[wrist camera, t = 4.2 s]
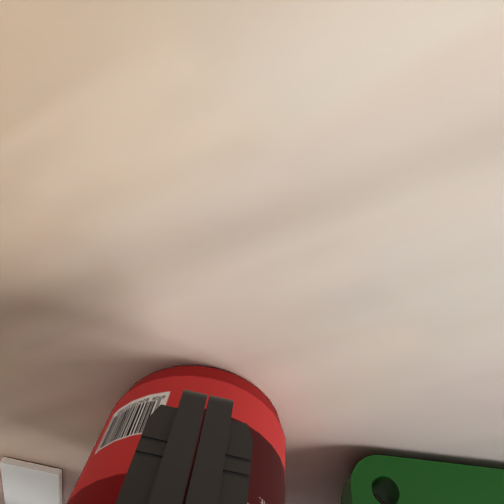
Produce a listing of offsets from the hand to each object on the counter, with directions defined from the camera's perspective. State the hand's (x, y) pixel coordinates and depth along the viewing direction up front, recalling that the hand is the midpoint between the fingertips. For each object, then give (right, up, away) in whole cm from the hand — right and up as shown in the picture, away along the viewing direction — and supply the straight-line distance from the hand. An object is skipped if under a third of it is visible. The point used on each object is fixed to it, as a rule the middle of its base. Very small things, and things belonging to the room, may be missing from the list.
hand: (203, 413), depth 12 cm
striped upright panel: (-11, -11, +11) cm, 19 cm away
